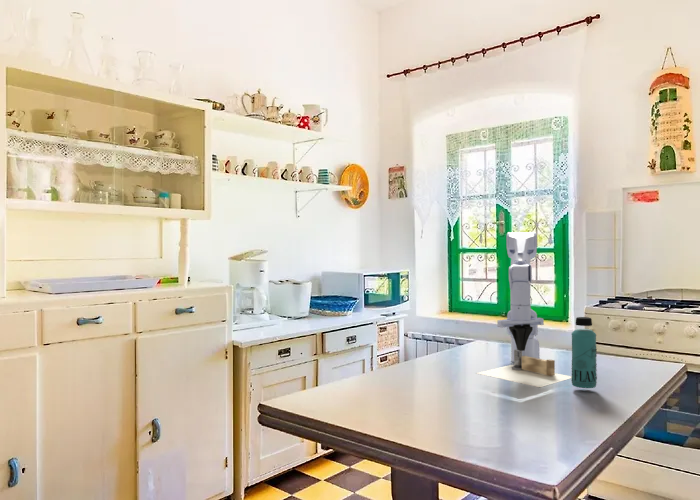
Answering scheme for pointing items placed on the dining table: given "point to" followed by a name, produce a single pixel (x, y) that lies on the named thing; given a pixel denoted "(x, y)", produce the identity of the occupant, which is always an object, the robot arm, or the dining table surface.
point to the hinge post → (517, 360)
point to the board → (524, 376)
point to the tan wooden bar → (538, 365)
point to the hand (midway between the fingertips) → (520, 350)
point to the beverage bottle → (584, 355)
